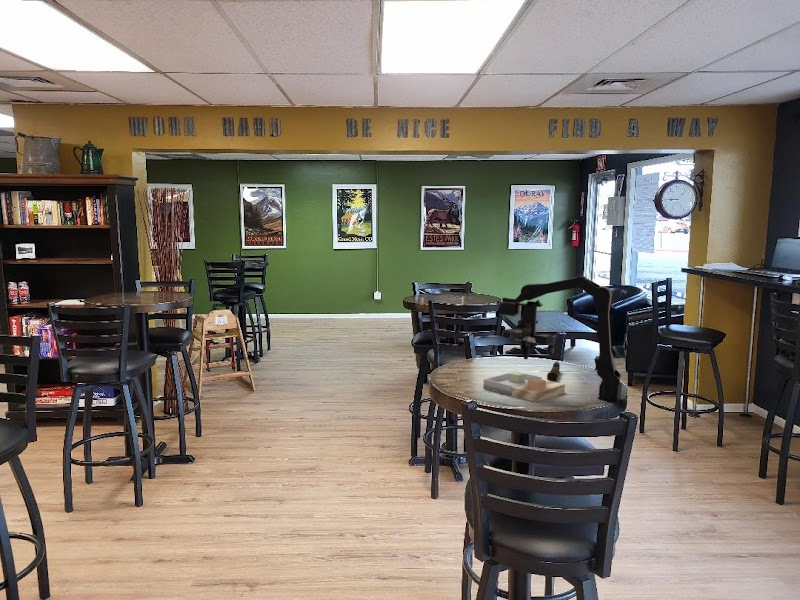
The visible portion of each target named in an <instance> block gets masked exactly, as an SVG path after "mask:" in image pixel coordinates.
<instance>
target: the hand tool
mask: <svg viewBox="0 0 800 600" xmlns="http://www.w3.org/2000/svg"><path fill="white" fill-rule="evenodd" d="M560 365H561V364H560V362H559V361H555V362H554V363H553V364H552V368H551V370H550V371H549V372H548V373H547V375H546V380H548V381H555V382H557V380H558V376H559V375H560V367H561V366H560Z"/></svg>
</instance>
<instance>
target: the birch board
mask: <svg viewBox="0 0 800 600" xmlns="http://www.w3.org/2000/svg"><path fill="white" fill-rule="evenodd" d="M541 380H545V381H546V388H545V389H544V390H540V391H536V390H532V389H528V388H527V386H528V383H525V384H521V385H518V386H515V387H512V397H515V398H520V399H523V400H527V401H531V402H534V403H537V402H541V401H543V400H546V399H549V398H552V397H554V396H555V397H556V396H558V395H561V394H564V393H565V391H566V390H565V389H566V384H564V383H561V382H557V381H555V382H553V381H548V380H547V379H543V378H542V379H541ZM540 400H541V401H540Z"/></svg>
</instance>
